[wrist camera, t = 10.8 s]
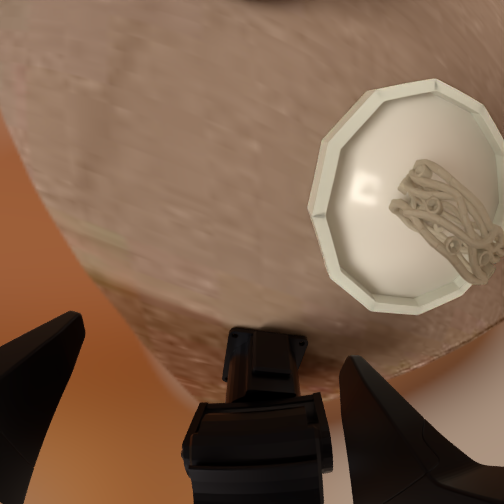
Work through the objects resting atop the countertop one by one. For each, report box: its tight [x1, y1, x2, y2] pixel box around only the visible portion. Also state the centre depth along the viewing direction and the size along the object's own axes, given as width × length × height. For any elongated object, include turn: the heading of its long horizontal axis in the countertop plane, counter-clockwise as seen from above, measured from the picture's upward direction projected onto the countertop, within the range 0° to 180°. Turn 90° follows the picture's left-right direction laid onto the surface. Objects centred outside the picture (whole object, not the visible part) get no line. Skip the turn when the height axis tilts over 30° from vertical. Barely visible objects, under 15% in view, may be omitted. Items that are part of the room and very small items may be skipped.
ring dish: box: [307, 79, 504, 315], centre depth 18 cm, size 17×17×2 cm
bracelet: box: [388, 159, 504, 285], centre depth 15 cm, size 4×8×8 cm, turn 61°
